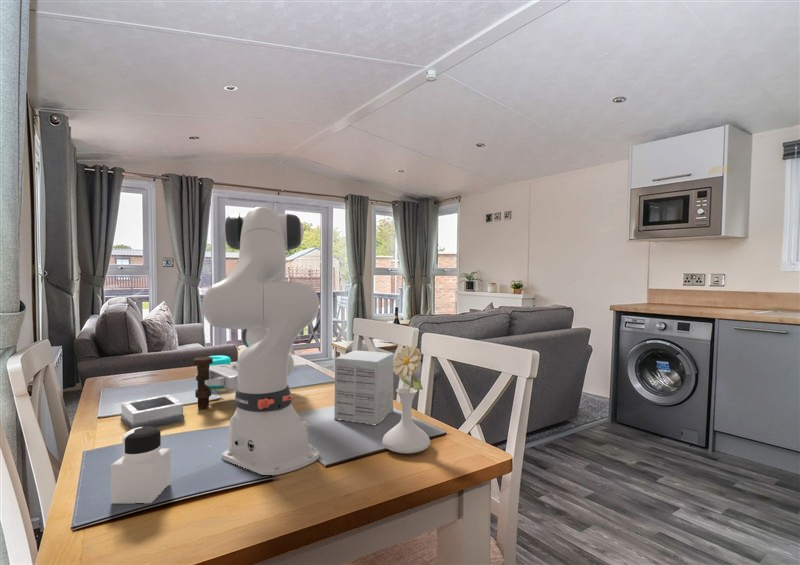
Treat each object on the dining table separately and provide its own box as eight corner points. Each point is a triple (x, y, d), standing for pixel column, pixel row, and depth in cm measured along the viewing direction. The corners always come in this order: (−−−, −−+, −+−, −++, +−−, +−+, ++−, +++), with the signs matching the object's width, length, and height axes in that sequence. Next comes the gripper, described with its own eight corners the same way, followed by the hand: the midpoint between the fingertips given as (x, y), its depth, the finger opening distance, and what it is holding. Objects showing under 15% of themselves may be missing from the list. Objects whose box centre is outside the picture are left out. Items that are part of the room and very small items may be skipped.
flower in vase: (375, 442, 105) (376, 340, 104) (418, 436, 109) (420, 338, 108) (394, 465, 93) (395, 349, 92) (441, 457, 97) (443, 346, 96)
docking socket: (184, 421, 118) (184, 404, 118) (134, 432, 110) (134, 414, 110) (167, 408, 128) (167, 393, 128) (120, 418, 120) (120, 402, 119)
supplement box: (353, 406, 133) (354, 349, 132) (393, 411, 129) (394, 352, 128) (333, 420, 120) (333, 357, 120) (376, 426, 116) (377, 361, 115)
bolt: (216, 405, 132) (216, 356, 131) (208, 411, 127) (207, 360, 126) (198, 404, 132) (198, 356, 132) (189, 410, 127) (189, 359, 127)
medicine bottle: (171, 484, 84) (171, 423, 83) (151, 504, 77) (151, 437, 76) (133, 484, 83) (133, 423, 83) (110, 504, 76) (109, 437, 76)
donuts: (235, 357, 154) (206, 361, 148) (235, 385, 155) (206, 390, 148) (225, 353, 162) (196, 357, 155) (225, 380, 162) (196, 384, 155)
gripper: (231, 358, 146) (187, 364, 136) (259, 368, 131) (213, 375, 121) (231, 376, 146) (187, 384, 136) (259, 388, 131) (213, 398, 122)
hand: (200, 380), depth 129 cm, fingers open, 7 cm apart
